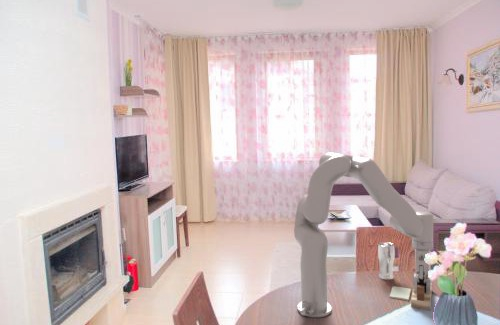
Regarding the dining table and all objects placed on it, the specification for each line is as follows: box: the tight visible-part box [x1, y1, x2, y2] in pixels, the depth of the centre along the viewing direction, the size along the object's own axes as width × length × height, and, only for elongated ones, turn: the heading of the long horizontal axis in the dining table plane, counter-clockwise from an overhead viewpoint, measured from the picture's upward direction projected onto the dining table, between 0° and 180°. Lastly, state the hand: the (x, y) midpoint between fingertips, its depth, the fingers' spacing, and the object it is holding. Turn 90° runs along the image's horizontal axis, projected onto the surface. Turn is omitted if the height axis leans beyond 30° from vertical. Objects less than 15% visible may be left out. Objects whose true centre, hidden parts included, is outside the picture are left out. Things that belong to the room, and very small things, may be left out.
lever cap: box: [412, 272, 432, 294], centre depth 151 cm, size 4×6×7 cm
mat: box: [389, 286, 412, 301], centre depth 156 cm, size 10×7×1 cm
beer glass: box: [377, 241, 396, 281], centre depth 172 cm, size 7×7×15 cm
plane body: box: [410, 282, 433, 311], centre depth 151 cm, size 18×6×8 cm, turn 153°
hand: (422, 289), depth 151 cm, fingers closed on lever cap, 4 cm apart
